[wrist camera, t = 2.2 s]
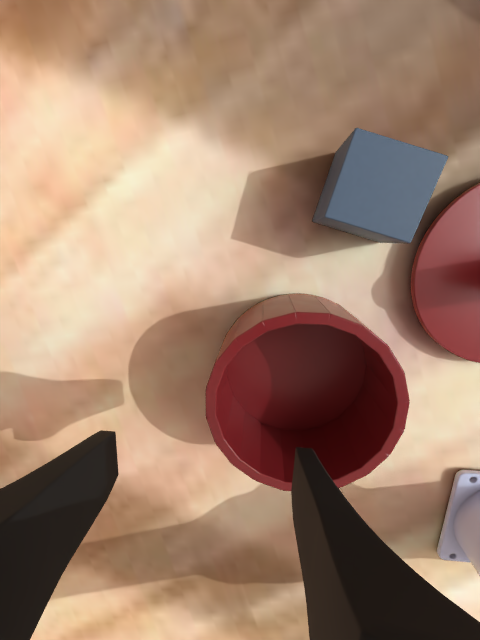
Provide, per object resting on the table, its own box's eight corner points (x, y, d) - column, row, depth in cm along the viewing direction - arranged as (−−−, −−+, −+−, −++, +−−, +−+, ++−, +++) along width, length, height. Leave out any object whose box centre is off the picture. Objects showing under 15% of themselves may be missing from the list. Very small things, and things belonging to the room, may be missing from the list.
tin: (382, 296, 19) (426, 317, 14) (361, 438, 22) (391, 499, 17) (220, 290, 20) (205, 308, 15) (218, 428, 23) (205, 484, 18)
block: (408, 174, 18) (449, 155, 14) (380, 242, 19) (411, 243, 15) (335, 151, 18) (355, 126, 14) (311, 221, 19) (324, 216, 15)
